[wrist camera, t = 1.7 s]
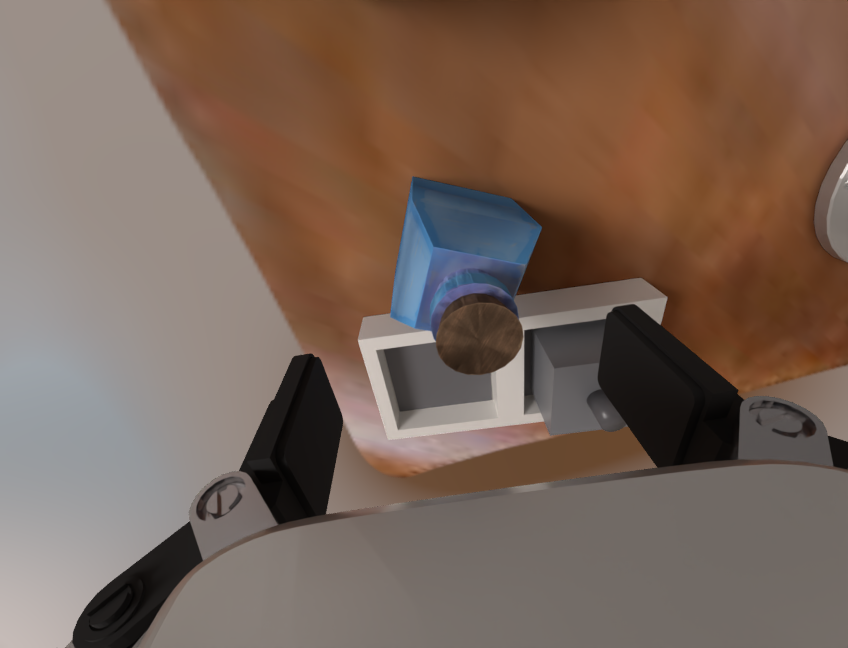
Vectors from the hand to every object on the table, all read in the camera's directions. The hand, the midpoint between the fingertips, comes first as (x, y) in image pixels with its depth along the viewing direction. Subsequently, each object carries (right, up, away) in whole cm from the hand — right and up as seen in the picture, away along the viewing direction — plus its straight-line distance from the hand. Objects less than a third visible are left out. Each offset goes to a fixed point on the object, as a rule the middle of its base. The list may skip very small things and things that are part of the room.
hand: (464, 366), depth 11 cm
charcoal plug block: (+10, -1, +15) cm, 18 cm away
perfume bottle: (0, +7, +11) cm, 14 cm away
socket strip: (+5, -1, +16) cm, 17 cm away
